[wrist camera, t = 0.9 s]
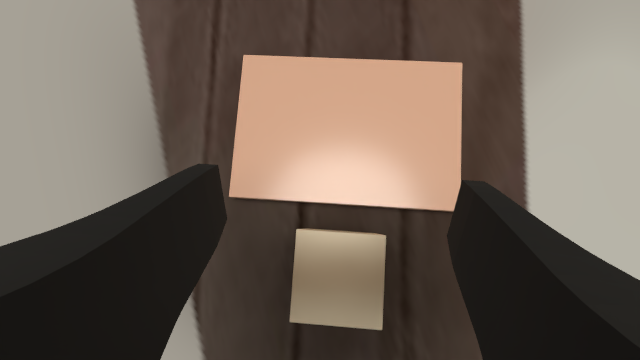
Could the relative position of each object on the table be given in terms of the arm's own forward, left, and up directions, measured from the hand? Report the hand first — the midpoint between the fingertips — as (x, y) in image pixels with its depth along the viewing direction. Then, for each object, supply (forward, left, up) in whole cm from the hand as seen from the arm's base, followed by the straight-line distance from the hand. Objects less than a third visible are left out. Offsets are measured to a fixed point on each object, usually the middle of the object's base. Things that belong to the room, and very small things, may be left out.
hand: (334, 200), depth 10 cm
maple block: (-3, 0, -13) cm, 13 cm away
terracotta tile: (+6, 0, -13) cm, 14 cm away
